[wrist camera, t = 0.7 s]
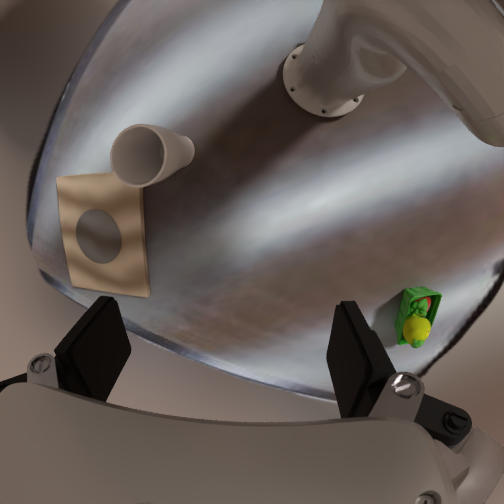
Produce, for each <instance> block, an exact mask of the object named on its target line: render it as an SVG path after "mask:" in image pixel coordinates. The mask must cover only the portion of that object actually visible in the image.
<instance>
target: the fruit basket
mask: <svg viewBox="0 0 504 504" xmlns="http://www.w3.org/2000/svg"><path fill="white" fill-rule="evenodd" d="M441 297H442V294H441V293H439V292H435V291H432V290H430V289H428V288H426V287H421V288H419V287H417V288H410V289H404V293H403V298H402V301H401V305H400V310H399V312H398V318H397V320H396V323H395V328H396V333H397V342H398V345H403V344H410V345H411V346H412V347H413V348H418V347H420V346H422V345H423V343H424V341H425V340H426V339H427V338H428V335H429V333H430V330H431V327H432V324H433V322H434V319H435V316H436V313H437V310H438V307H439V304H440V301H441Z"/></svg>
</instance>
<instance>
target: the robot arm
mask: <svg viewBox="0 0 504 504" xmlns="http://www.w3.org/2000/svg"><path fill="white" fill-rule="evenodd" d="M495 1H496V2H497V3H498V4H499V6H500V7H501V8H502V9H503V11H504V0H495ZM292 57H295V58H296V59H293V58H292ZM407 67H408V68H409V69H410V70H411V71H412V72H413V73H414V74H415V75H417V76H419V77H420V78H421V79H422V80H423V81H424V82H425V83H426V84H427V85H428V86H429V87H430V88H431V89H432V90H433V91H434V92H435V93H436V94H437V95H438V96H439V97H440V98H441V99H442V100H443V101H444V103H445V104H446V105H447V106H448V107H449V108H450V109H451V110H452V111H453V113H454V114H455V115H456V116H457V117H458V118H459V119H460V120H461V122H462V123H463V124H464V125H465V126H466V127H467V128H468V130H469V131H470V132H471V133H472V134H474V135H475V136H476V137H477V138H478V139H480V140H481V141H483V142H484V143H486V144H489V145H492V146H496V147H504V16H503V15H502V13H501V12H500V11H499V10H498V9H497V8H496V6H495V4H494V3H493V2H492V0H323V4H322V7H321V10H320V13H319V15H318V17H317V20H316V22H315V24H314V26H313V28H312V30H311V33H310V35H309V37H308V39H307V41H306V43H305V44H303V45H301V46H299V47H297V48H296V49H295V50H293V51H292V52H291V53H290V55H289V56H288V57H287V59H286V61H285V64H284V67H283V83H284V86H285V89H286V91H287V93H288V94H289V96H290V98H291V99H292V100H293V101H294V102H295V103H296V104H297V105H298V106H299V107H301V108H302V109H304V110H305V111H307V112H309V113H311V114H314V115H317V116H321V117H337V116H341V115H345V114H347V113H349V112H351V111H352V110H354V109H355V108H356V107H357V106H358V105H359V104H360V102H361V100H362V98H363V96H364V94H365V93H368V92H370V91H372V90H375V89H377V88H379V87H381V86H384V85H386V84H388V83H390V82H393V81H394V80H396V79H397V78H399V77H400V76H401V75H402V74H403V72H404V71H405V70H406V68H407ZM291 89H293V90H294V91H293V92H292V91H291ZM353 99H355V102H354V101H353ZM322 110H324V112H325V113H322ZM54 352H55V354H56V356H55V357H53V356H52V355H51V354H48V353H43V354H39V355H37V356H35V357H33V358H32V359H31V360H30V362H29V364H28V367H27V373H24V374H21V375H18V376H15V377H13V378H10V379H7V380H4V381H2V382H0V504H485V502H486V501H487V499H488V498H489V496H490V495H491V493H492V491H493V490H494V488H495V486H496V485H497V483H498V482H499V480H500V478H501V476H502V474H503V473H504V446H502V445H501V444H500V443H498V442H497V441H496V440H494V439H493V438H492V437H490V436H489V435H487V434H486V433H485V432H484V431H482V430H481V429H480V428H478V427H476V428H475V429H474V428H473V427H472V421H471V418H470V416H469V414H468V413H467V412H466V411H464V410H463V409H461V408H458V407H455V406H453V405H451V404H448V403H445V402H443V401H441V400H438V399H436V398H434V397H431V396H429V395H426V394H424V390H425V387H424V383H423V382H422V380H421V379H420V378H419V377H418V376H416V375H414V374H412V373H409V372H398V373H397V372H396V370H395V368H394V366H393V364H392V362H391V360H390V358H389V357H388V355H387V353H386V351H385V349H384V347H383V345H382V343H381V341H380V339H379V337H378V336H377V334H376V332H375V331H374V330H371V329H370V327H369V326H368V324H367V322H366V320H365V318H364V316H363V314H362V313H361V311H360V309H359V307H358V305H357V303H356V302H355V301H341V303H340V305H336V308H335V313H334V319H333V324H332V330H331V335H330V340H329V345H328V349H327V355H326V359H327V364H328V368H329V371H330V375H331V379H332V383H333V387H334V391H335V395H336V399H337V403H338V407H339V411H340V415H341V419H328V420H316V421H299V422H298V421H297V422H232V421H217V420H205V419H195V418H186V417H178V416H171V415H165V414H159V413H153V412H147V411H142V410H137V409H132V408H128V407H123V406H118V405H115V404H110V403H107V402H106V400H107V398H108V396H109V394H110V392H111V390H112V388H113V386H114V384H115V382H116V380H117V379H118V377H119V375H120V373H121V371H122V369H123V367H124V365H125V363H126V361H127V359H128V357H129V356H130V354H131V345H130V342H129V339H128V336H127V333H126V330H125V327H124V323H123V320H122V317H121V313H120V310H119V306H118V303H117V301H116V300H114V298H113V297H110V296H100V297H99V298H98V299H97V300H96V301H95V302H94V303H93V305H92V306H91V307H90V308H89V309H88V310H87V311H86V312H85V314H84V315H83V316H82V317H81V318H80V319H79V321H78V322H77V323H76V324H75V325H74V326H73V328H72V329H71V330H70V331H69V332H68V333H67V335H66V336H65V337H64V338H63V340H62V341H61V342H60V343H59V345H58V346H57V347H56V348H55V349H54Z"/></svg>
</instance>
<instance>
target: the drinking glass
mask: <svg viewBox="0 0 504 504" xmlns="http://www.w3.org/2000/svg"><path fill="white" fill-rule="evenodd" d="M194 153H195V149H194V145H193V143H192V141H191V140H190V139H189V138H188V137H186V136H184V135H180V134H177V133H175V132H173V131H171V130H169V129H166V128H164V127H161V126H156V125H149V124H137V125H133V126H130V127H128V128H126V129H125V130H123V131H122V132H121V133H120V134H119V135H118V136H117V138H116V139H115V141H114V143H113V146H112V149H111V155H110V161H111V166H112V170H113V172H114V174H115V175H116V177H117V178H118V179H119V180H120V181H121V182H122V183H123V184H125V185H127V186H130V187H134V188H141V187H145V186H149V185H152V184H155V183H158V182H160V181H162V180H164V179H166V178H168V177H169V176H171V175H172V174H174V173H175V172H177V171H178V170H180V169H182V168H184V167H186V166H188V165H189V164H190V163H191V161H192V160H193V157H194Z"/></svg>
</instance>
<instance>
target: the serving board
mask: <svg viewBox="0 0 504 504" xmlns="http://www.w3.org/2000/svg"><path fill="white" fill-rule="evenodd" d="M57 192H58V204H59V214H60V222H61V229H62V236H63V242H64V248H65V254H66V259H67V264H68V269H69V273H70V278H71V282H72V286H75V287H81V288H87V289H93V290H99V291H105V292H112V293H118V294H125V295H133V296H140V297H149V295H150V294H151V291H150V282H149V273H148V264H147V253H146V241H145V225H144V204H143V187H141V188H134V187H130V186H127V185H125V184H123V183H122V182H121V181H120V180H119V179H118V178H117V177H116V175H115V174H114V172H111V173H94V174H81V175H69V176H60V177H57Z"/></svg>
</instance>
